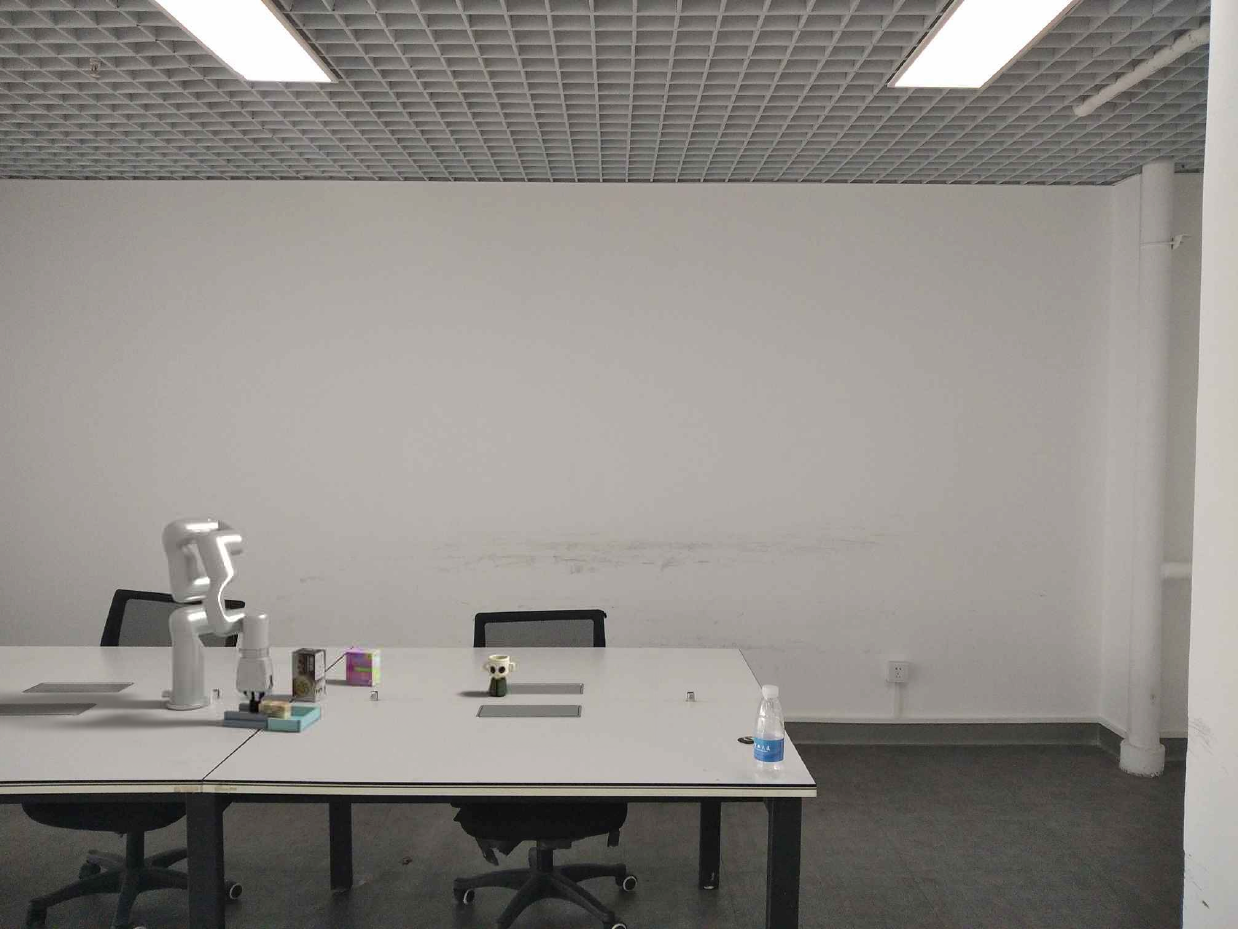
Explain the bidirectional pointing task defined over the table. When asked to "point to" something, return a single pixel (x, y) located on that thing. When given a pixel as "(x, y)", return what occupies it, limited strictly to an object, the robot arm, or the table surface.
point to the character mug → (498, 673)
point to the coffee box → (308, 674)
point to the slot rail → (245, 718)
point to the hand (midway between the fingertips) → (255, 712)
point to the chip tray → (296, 719)
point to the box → (362, 667)
